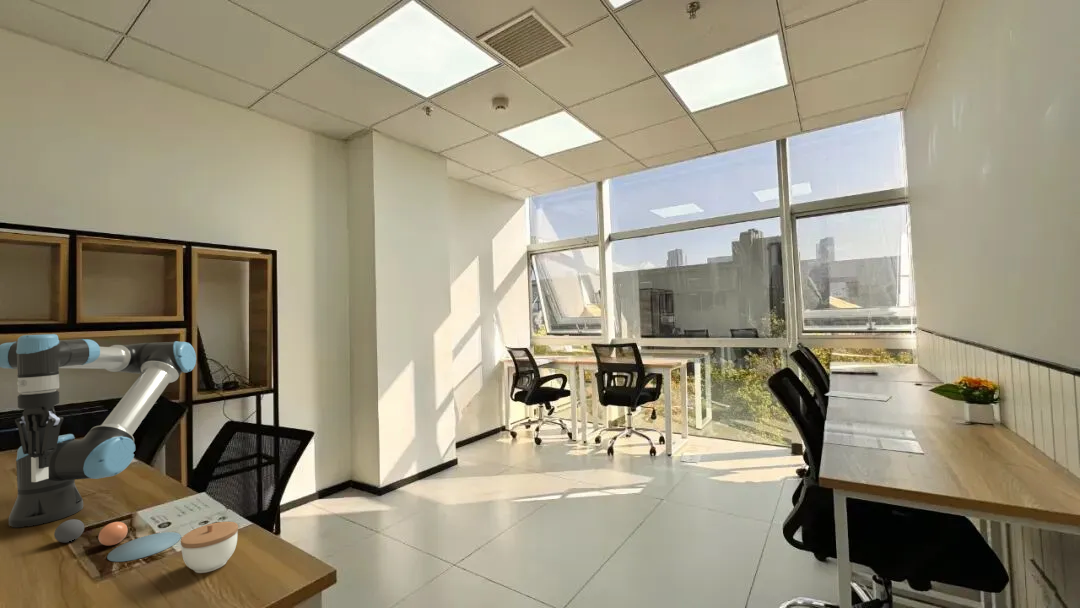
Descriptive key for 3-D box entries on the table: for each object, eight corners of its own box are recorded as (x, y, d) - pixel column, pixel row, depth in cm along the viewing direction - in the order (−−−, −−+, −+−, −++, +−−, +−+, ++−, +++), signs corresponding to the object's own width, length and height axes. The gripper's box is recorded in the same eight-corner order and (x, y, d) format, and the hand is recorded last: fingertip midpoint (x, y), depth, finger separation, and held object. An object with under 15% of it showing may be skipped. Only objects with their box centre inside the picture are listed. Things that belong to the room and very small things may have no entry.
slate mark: (92, 557, 110) (92, 556, 110) (156, 530, 123) (156, 529, 123) (132, 565, 106) (132, 564, 106) (193, 536, 119) (193, 535, 119)
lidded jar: (201, 555, 109) (200, 516, 109) (248, 551, 110) (247, 512, 110) (169, 581, 98) (168, 538, 99) (221, 577, 99) (220, 534, 99)
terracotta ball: (93, 548, 114) (92, 526, 114) (118, 537, 120) (118, 517, 120) (107, 551, 113) (107, 529, 113) (133, 540, 118) (132, 519, 118)
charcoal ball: (49, 545, 117) (48, 524, 117) (76, 535, 122) (75, 514, 122) (62, 547, 115) (62, 526, 115) (89, 537, 120) (89, 516, 121)
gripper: (1, 394, 118) (2, 484, 118) (40, 394, 116) (41, 486, 116) (37, 389, 126) (38, 474, 125) (74, 389, 124) (76, 475, 123)
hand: (40, 480), depth 120 cm, fingers closed
